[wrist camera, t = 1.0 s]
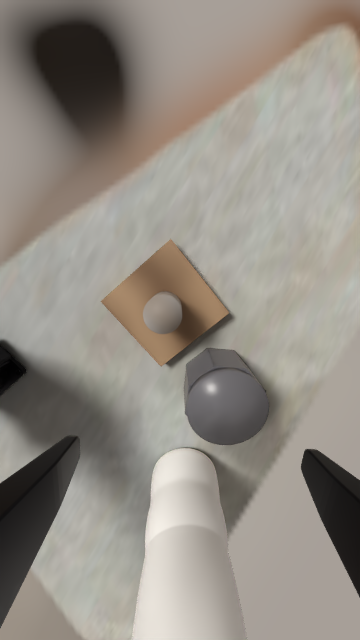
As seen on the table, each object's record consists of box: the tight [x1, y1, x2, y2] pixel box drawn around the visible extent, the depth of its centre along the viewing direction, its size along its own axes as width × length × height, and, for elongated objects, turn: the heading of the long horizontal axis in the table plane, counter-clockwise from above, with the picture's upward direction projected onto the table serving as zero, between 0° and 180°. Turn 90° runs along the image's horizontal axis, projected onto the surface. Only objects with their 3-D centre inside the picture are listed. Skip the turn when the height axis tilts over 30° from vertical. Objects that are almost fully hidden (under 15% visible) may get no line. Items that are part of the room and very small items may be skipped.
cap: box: [184, 348, 269, 445], centre depth 19 cm, size 6×6×5 cm
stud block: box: [101, 239, 229, 366], centre depth 17 cm, size 8×8×5 cm
